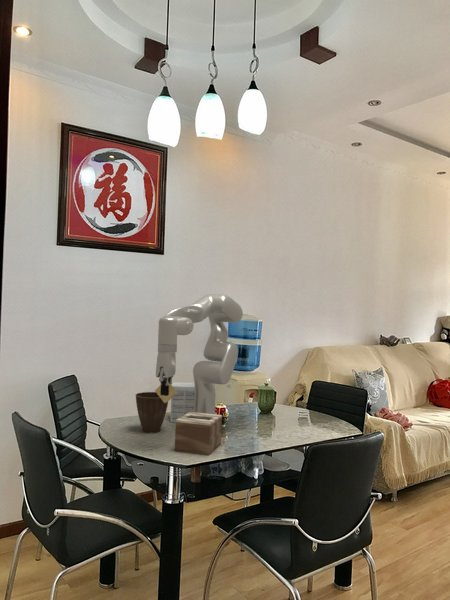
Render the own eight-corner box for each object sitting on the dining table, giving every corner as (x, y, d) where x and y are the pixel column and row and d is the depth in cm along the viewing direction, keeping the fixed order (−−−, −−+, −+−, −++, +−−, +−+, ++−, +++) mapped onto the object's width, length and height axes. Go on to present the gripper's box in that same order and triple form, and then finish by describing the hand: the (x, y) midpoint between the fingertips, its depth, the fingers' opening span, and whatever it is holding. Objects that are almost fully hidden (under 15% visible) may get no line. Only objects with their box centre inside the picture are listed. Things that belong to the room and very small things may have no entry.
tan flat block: (167, 402, 204) (157, 389, 206) (177, 392, 203) (167, 380, 204) (164, 403, 202) (154, 390, 203) (175, 393, 201) (165, 380, 202)
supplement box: (171, 416, 258) (172, 381, 258) (197, 417, 259) (198, 382, 259) (169, 422, 245) (171, 386, 245) (197, 423, 245) (198, 386, 245)
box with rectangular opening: (188, 440, 214) (189, 411, 214) (220, 444, 210) (221, 415, 210) (174, 450, 198) (175, 419, 199) (209, 455, 195) (210, 423, 195)
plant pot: (127, 431, 225) (128, 395, 225) (147, 424, 238) (148, 390, 238) (155, 436, 218) (156, 399, 218) (174, 429, 231) (175, 394, 231)
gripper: (166, 346, 212) (164, 390, 212) (150, 349, 197) (148, 397, 197) (183, 347, 210) (181, 392, 210) (168, 350, 195) (166, 399, 195)
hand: (165, 394), depth 203 cm, fingers closed on tan flat block, 2 cm apart
